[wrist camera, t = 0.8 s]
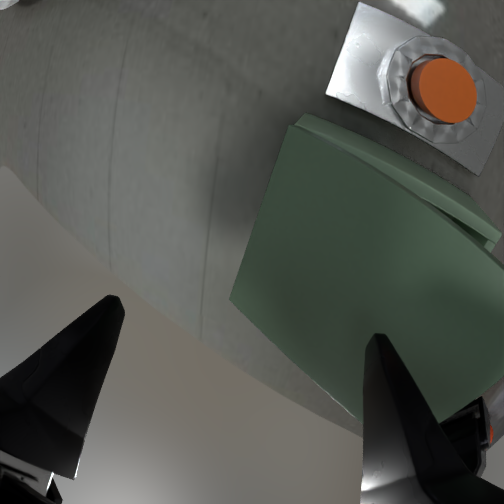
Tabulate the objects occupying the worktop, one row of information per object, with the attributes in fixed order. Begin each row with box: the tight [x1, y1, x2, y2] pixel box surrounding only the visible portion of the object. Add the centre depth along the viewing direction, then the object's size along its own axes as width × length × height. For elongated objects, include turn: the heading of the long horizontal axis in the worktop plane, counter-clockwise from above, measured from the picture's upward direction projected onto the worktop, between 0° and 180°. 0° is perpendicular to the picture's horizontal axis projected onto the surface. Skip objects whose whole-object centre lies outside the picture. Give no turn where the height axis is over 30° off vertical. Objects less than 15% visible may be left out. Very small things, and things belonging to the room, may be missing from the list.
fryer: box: [294, 113, 502, 253], centre depth 18 cm, size 14×12×6 cm
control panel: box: [325, 1, 504, 177], centre depth 13 cm, size 12×7×3 cm, turn 74°
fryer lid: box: [229, 125, 504, 424], centre depth 13 cm, size 14×12×1 cm
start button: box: [411, 58, 477, 123], centre depth 11 cm, size 4×4×2 cm
